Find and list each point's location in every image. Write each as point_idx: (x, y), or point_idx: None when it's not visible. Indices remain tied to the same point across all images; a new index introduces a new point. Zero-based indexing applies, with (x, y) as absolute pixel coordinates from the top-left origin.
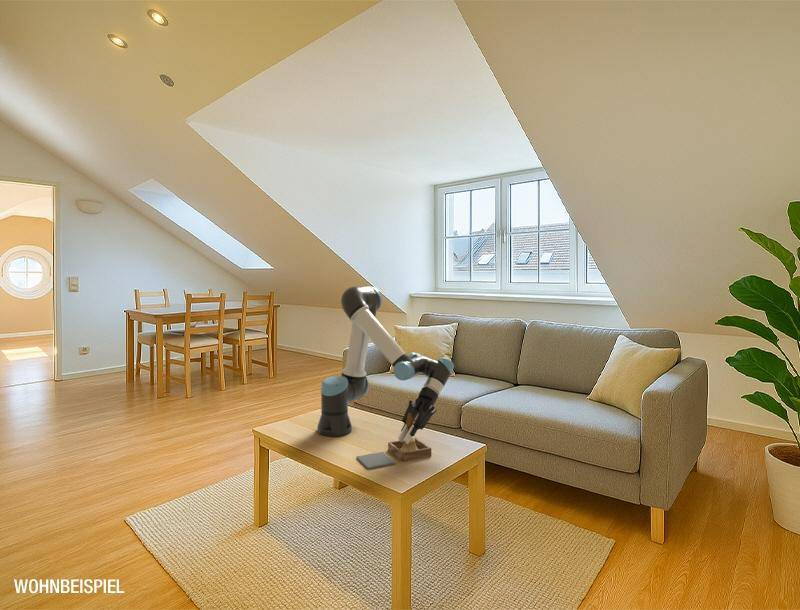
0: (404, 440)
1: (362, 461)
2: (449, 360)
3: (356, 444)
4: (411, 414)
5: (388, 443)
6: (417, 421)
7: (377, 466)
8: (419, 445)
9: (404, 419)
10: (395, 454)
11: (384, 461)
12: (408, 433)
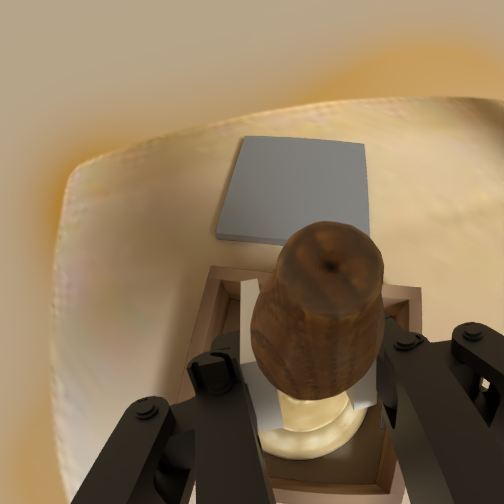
0: (245, 281)
1: (306, 140)
2: None
3: (499, 214)
4: (287, 319)
5: (414, 289)
6: (204, 440)
7: (236, 165)
8: (316, 487)
9: (469, 345)
10: None
11: (253, 198)
12: (245, 311)
